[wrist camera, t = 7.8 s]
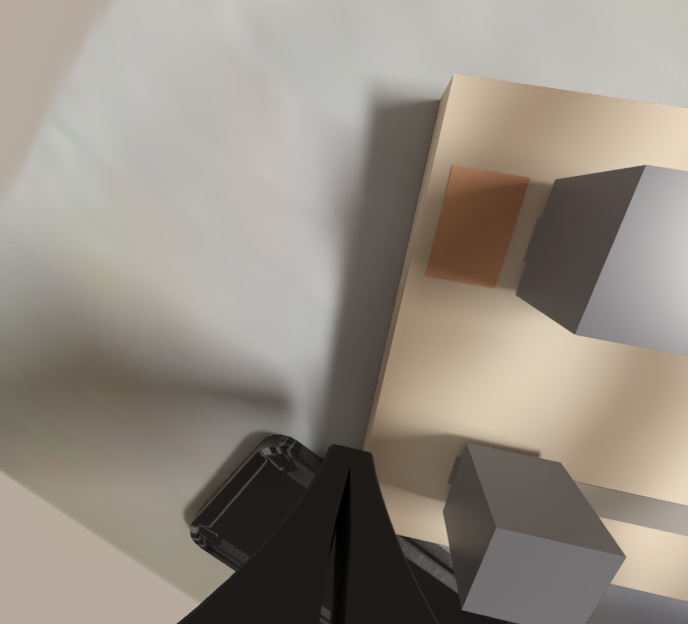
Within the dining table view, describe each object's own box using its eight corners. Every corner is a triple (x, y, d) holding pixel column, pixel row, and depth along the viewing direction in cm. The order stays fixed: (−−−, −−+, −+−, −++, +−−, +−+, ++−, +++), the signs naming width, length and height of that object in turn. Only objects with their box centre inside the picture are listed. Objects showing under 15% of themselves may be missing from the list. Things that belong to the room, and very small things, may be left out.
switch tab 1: (681, 200, 8) (845, 196, 5) (627, 315, 9) (741, 366, 6) (554, 179, 8) (646, 164, 5) (515, 294, 9) (574, 335, 6)
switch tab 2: (561, 462, 11) (626, 556, 8) (529, 531, 11) (576, 637, 9) (466, 442, 11) (496, 528, 8) (442, 511, 12) (461, 610, 9)
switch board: (1024, 188, 9) (1195, 183, 7) (731, 567, 14) (788, 625, 12) (440, 98, 10) (454, 73, 8) (354, 482, 15) (350, 524, 13)
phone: (270, 436, 14) (531, 628, 15) (279, 420, 15) (521, 600, 16) (179, 536, 16) (413, 692, 18) (192, 515, 17) (411, 665, 19)
